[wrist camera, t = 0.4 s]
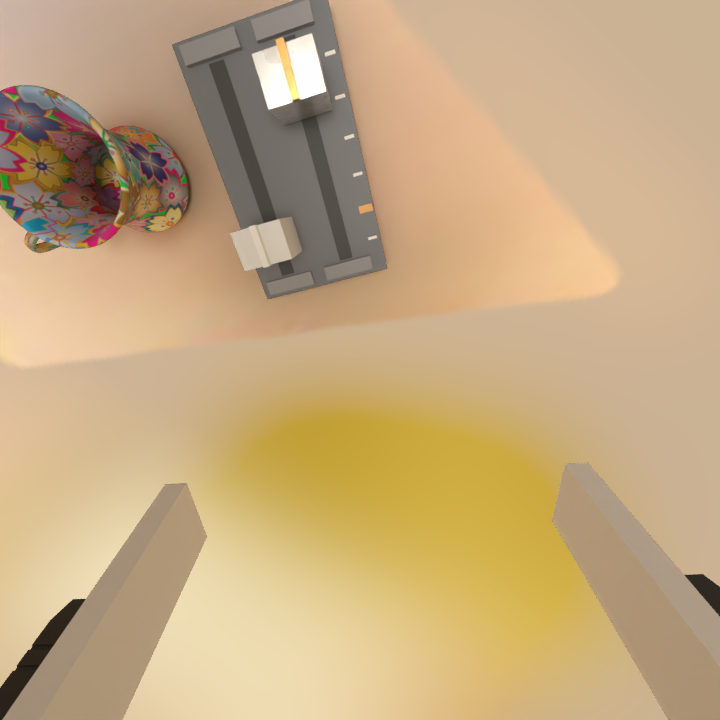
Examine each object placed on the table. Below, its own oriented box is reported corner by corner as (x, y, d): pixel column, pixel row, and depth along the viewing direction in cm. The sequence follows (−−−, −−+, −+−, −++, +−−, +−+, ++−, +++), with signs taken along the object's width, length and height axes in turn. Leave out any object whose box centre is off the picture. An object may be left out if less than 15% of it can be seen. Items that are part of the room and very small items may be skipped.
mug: (128, 95, 29) (11, 42, 19) (217, 184, 32) (153, 176, 22) (61, 203, 33) (-66, 202, 23) (147, 274, 35) (65, 301, 26)
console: (187, 57, 28) (122, 3, 20) (328, 7, 27) (314, -70, 19) (273, 293, 36) (249, 317, 28) (385, 264, 35) (391, 281, 27)
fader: (270, 79, 26) (248, 49, 21) (321, 62, 26) (310, 27, 21) (284, 126, 27) (266, 108, 22) (332, 110, 27) (325, 89, 22)
